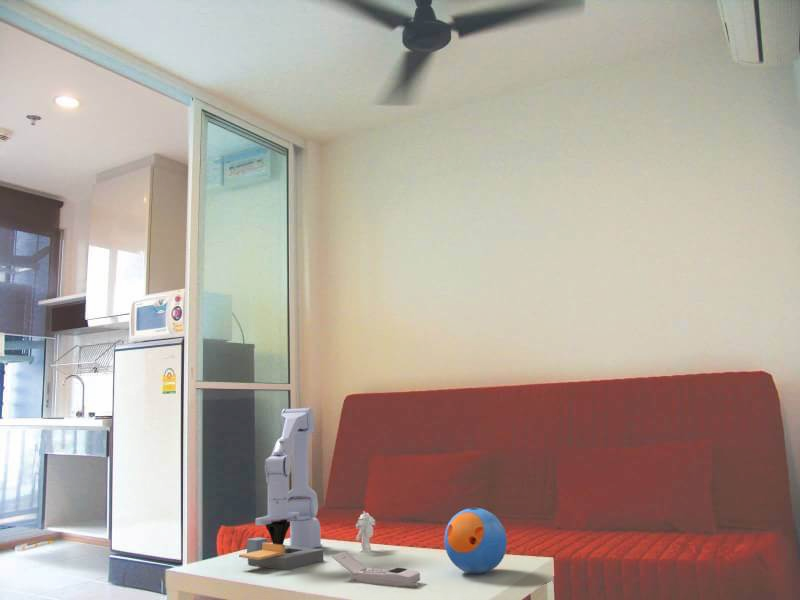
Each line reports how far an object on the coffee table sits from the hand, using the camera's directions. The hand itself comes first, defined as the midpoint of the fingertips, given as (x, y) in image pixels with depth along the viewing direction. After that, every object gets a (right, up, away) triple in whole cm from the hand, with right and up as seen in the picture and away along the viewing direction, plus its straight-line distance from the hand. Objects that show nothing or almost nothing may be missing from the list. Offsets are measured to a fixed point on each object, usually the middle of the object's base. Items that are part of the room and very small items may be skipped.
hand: (278, 549), depth 180 cm
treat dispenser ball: (+54, +2, -21) cm, 58 cm away
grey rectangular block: (-8, -7, +11) cm, 15 cm away
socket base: (+2, -4, +1) cm, 5 cm away
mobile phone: (+29, +2, -26) cm, 39 cm away
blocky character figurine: (+24, -6, +14) cm, 29 cm away
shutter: (-4, 0, -4) cm, 6 cm away
